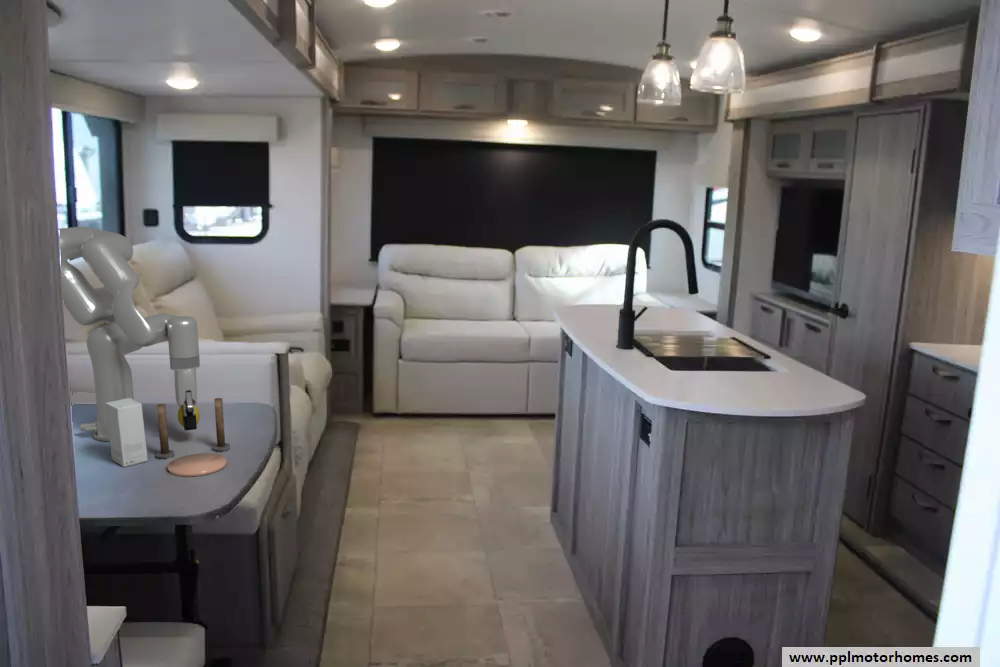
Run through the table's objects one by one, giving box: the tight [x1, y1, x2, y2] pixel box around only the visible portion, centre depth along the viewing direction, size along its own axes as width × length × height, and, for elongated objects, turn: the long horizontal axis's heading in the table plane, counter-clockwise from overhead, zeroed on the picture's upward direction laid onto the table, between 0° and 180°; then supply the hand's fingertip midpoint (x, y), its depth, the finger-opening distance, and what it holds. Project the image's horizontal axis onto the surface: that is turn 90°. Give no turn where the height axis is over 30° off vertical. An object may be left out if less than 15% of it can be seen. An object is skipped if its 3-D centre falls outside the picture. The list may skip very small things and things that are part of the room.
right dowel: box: [212, 397, 231, 453], centre depth 219 cm, size 4×4×14 cm
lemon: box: [177, 403, 200, 428], centre depth 225 cm, size 6×6×8 cm
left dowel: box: [155, 403, 175, 460], centre depth 213 cm, size 4×4×14 cm
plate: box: [167, 452, 228, 478], centre depth 207 cm, size 14×14×1 cm
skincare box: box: [105, 398, 149, 468], centre depth 209 cm, size 8×7×16 cm
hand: (189, 425), depth 225 cm, fingers closed on lemon, 5 cm apart
